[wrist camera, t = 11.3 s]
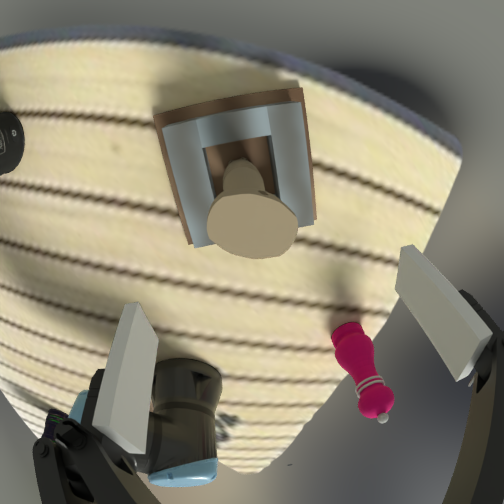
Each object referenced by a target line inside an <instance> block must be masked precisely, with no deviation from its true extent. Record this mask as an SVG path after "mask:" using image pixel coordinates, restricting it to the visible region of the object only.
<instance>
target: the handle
mask: <svg viewBox="0 0 504 504" xmlns="http://www.w3.org/2000/svg"><path fill="white" fill-rule="evenodd" d="M223 190H224V191H223V192H222V193H221V194H219V195H218V196H217V197H216V198H215V199H214V201H213V203H212V204H211V207H210V209H209V212H208V217H207V233H208V236H209V239H210V240H212V241H213V242H214V243H215V244H217V245H218V246H219V247H221V248H222V249H224V250H225V251H227V252H229V253H231V254H234V255H238V256H242V257H246V258H252V259H264V258H271V257H277V256H281V255H282V254H284V253H285V252H286V251H287V250H288V249H289V248H290V247H291V245H292V244H293V242H294V240H295V238H296V235H297V231H298V221H297V217H296V215H295V214H294V212H293V211H292V210H291V209H290V208H289V207H288V206H287V205H286V204H285V203H284V202H282V201H281V200H280V199H279V198H278V197H276V196H275V195H273V194H271V193H268V192H266V191H265V187H264V183H263V179H262V177H261V174H260V173H259V171H258V170H257V168H256V167H255V166H254V165H253V164H252V163H251V162H249V161H248V159H246V158H244V157H241V158H240V159H237V160H230V161H229V163H228V166H227V168H226V170H225V172H224V176H223Z"/></svg>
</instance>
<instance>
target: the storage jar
mask: <svg viewBox="0 0 504 504" xmlns="http://www.w3.org/2000/svg"><path fill="white" fill-rule="evenodd" d="M68 416H69V415H68V414H66V413H64V412H61V411H59V410H55V409H50V410H49V414H48V416H47V418H46V422H45V429H44V433H43V434H42V436H41V437H46V438H49V439H50V440H51V441H53V442H57V441H55V439H54V429H55V427H56V425H57V424H58V423H59V422H60V421H61V420H62V419H64V418H68Z"/></svg>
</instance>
